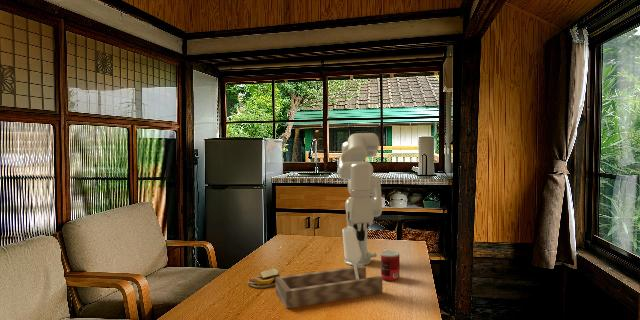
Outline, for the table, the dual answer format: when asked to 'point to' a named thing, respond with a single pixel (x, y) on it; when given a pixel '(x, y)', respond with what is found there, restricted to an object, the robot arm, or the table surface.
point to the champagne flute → (351, 247)
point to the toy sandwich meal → (264, 279)
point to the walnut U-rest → (325, 286)
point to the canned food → (390, 266)
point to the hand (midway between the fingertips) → (360, 240)
